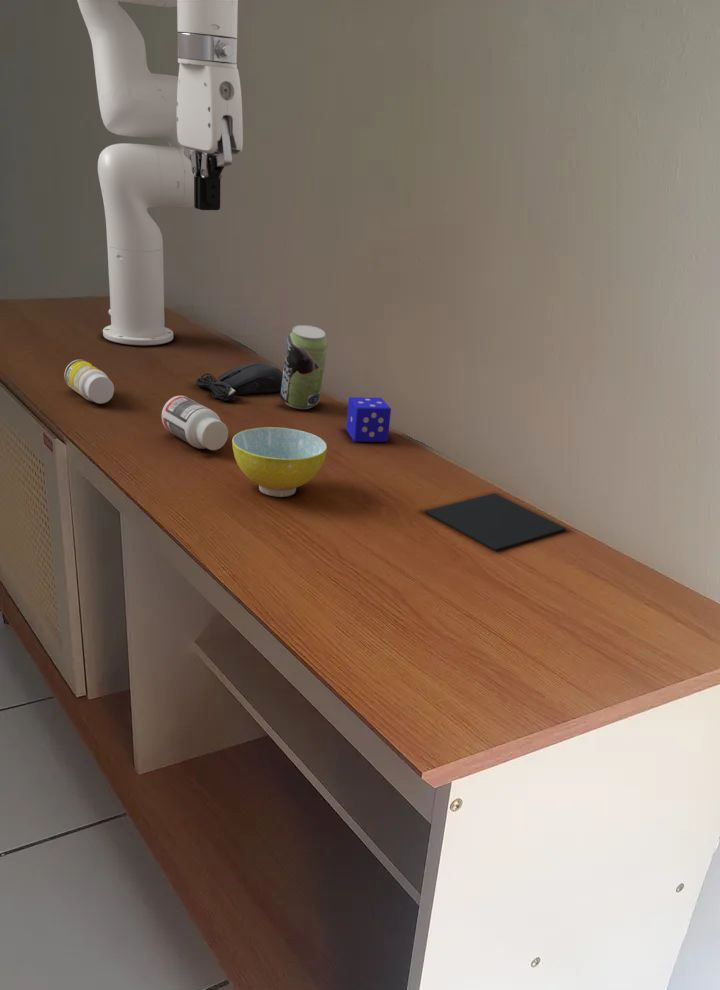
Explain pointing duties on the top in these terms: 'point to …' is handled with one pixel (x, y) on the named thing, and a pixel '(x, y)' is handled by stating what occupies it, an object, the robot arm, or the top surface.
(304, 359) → the beverage can
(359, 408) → the die
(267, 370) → the computer mouse
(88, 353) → the top surface
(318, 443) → the bowl
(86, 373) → the supplement bottle
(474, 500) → the mat
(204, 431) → the pill bottle
